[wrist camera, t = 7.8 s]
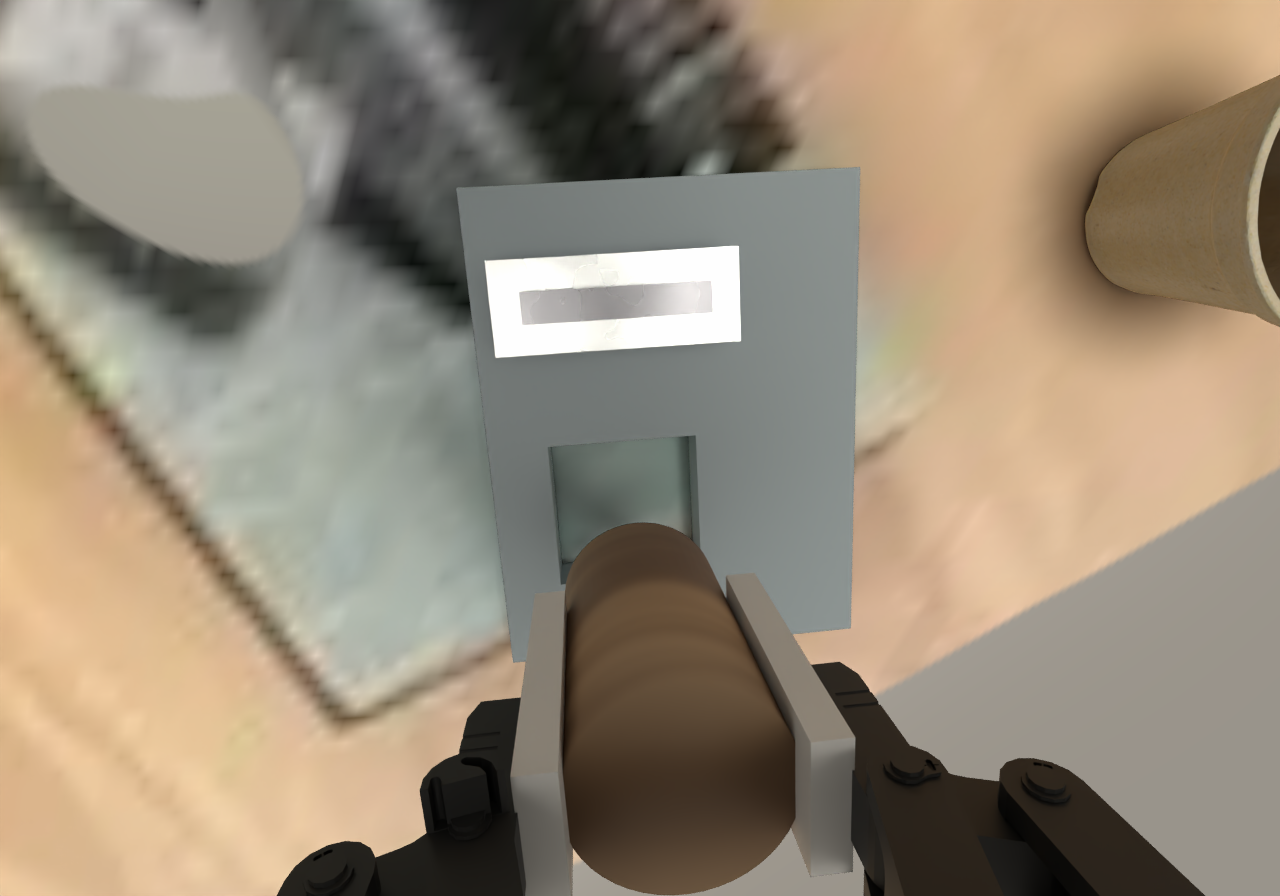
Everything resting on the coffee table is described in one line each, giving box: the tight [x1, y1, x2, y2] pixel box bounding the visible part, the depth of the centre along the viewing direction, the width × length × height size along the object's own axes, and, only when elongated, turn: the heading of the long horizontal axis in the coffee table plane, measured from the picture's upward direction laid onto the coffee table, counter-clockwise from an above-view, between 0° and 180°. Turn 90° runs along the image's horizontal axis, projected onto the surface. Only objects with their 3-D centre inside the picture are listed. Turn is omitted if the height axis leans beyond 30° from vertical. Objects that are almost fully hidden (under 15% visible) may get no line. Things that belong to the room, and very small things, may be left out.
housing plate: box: [456, 167, 860, 663], centre depth 26 cm, size 18×14×2 cm
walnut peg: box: [563, 523, 796, 895], centre depth 16 cm, size 4×4×8 cm
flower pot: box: [1085, 75, 1280, 327], centre depth 23 cm, size 9×9×9 cm
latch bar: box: [485, 246, 741, 358], centre depth 22 cm, size 3×8×3 cm, turn 94°
